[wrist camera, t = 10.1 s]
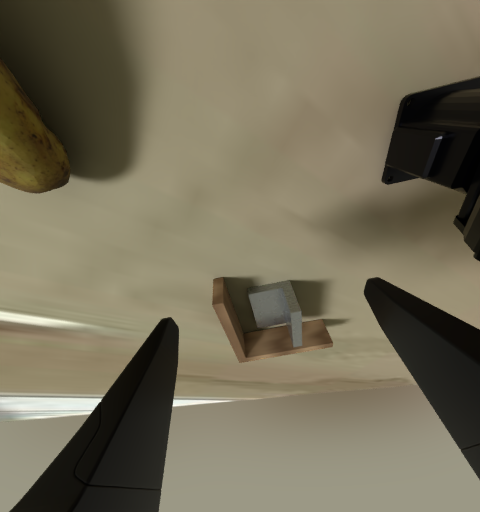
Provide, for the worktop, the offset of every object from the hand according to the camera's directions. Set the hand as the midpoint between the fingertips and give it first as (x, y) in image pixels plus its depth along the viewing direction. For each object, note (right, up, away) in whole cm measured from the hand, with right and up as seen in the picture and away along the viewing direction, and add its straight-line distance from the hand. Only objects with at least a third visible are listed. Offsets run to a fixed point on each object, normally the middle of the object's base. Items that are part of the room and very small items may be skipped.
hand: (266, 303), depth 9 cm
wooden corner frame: (+4, -5, +19) cm, 20 cm away
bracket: (+3, -4, +19) cm, 20 cm away
